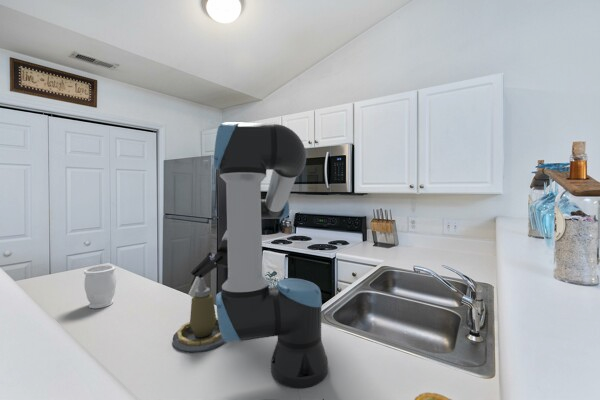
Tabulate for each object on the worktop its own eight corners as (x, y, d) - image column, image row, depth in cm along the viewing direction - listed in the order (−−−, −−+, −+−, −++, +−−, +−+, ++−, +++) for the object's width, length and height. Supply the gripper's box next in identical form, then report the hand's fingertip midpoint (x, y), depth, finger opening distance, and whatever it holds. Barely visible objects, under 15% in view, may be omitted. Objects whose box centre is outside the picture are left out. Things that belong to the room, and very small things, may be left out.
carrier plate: (243, 331, 94) (243, 324, 94) (198, 359, 79) (197, 351, 79) (206, 317, 104) (206, 311, 104) (160, 341, 89) (160, 333, 89)
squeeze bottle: (188, 341, 87) (187, 283, 86) (191, 328, 94) (189, 275, 93) (216, 337, 89) (214, 281, 88) (216, 325, 97) (215, 273, 95)
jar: (122, 299, 120) (121, 265, 119) (103, 310, 110) (101, 272, 109) (99, 298, 121) (98, 264, 120) (78, 309, 111) (76, 272, 110)
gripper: (263, 251, 107) (245, 307, 94) (207, 247, 114) (182, 298, 101) (257, 240, 102) (237, 297, 88) (198, 236, 109) (171, 289, 95)
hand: (208, 298), depth 95 cm, fingers open, 13 cm apart
